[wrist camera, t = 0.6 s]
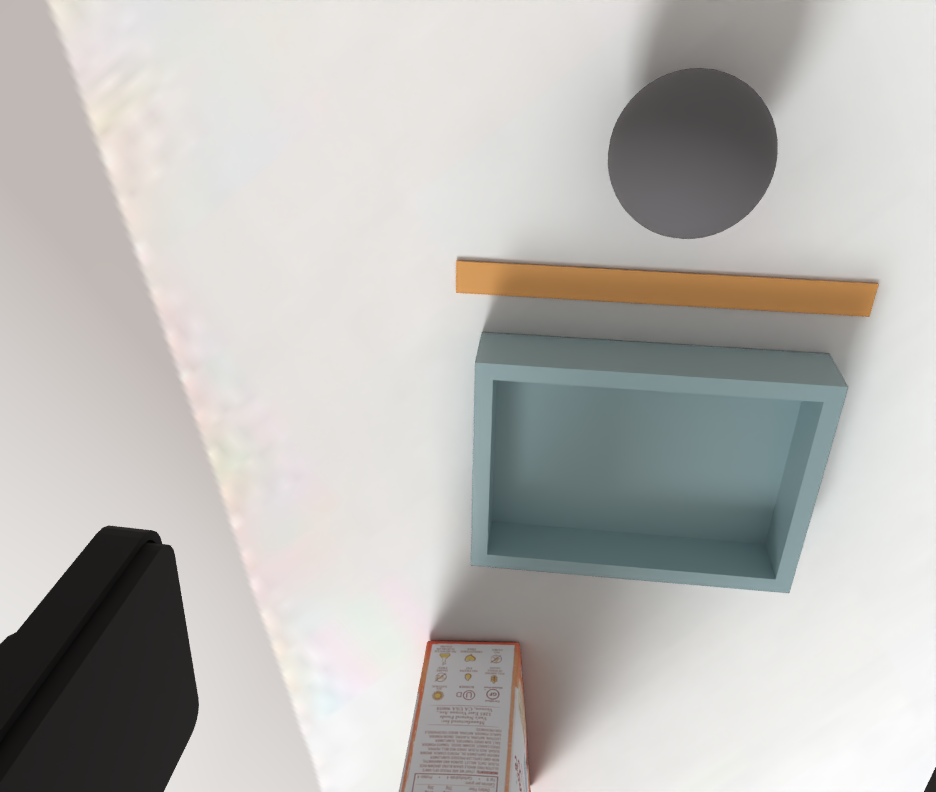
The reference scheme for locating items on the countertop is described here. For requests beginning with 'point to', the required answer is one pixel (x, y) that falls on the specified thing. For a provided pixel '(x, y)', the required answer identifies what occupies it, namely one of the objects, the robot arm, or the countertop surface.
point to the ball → (692, 153)
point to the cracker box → (468, 721)
